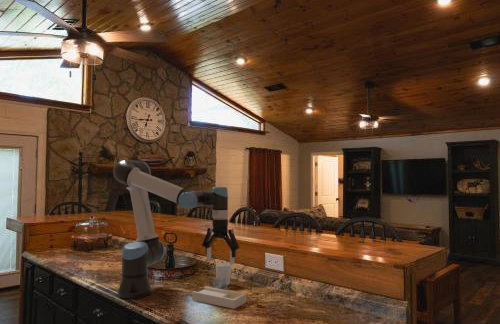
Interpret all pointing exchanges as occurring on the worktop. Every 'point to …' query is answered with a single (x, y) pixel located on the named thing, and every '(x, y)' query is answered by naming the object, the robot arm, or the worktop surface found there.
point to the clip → (219, 283)
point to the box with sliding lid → (220, 297)
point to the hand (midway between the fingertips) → (220, 262)
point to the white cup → (223, 271)
